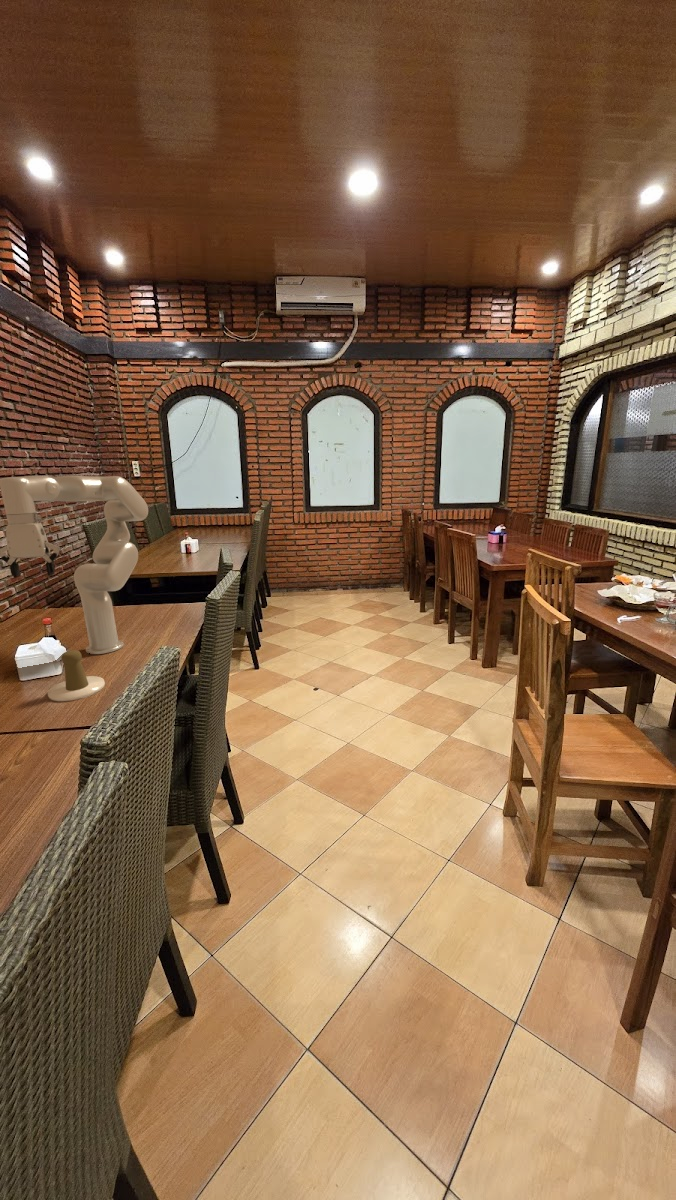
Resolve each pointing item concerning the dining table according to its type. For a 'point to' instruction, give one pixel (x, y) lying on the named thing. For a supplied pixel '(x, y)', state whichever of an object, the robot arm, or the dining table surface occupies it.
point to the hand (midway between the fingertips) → (34, 575)
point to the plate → (62, 694)
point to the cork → (74, 671)
